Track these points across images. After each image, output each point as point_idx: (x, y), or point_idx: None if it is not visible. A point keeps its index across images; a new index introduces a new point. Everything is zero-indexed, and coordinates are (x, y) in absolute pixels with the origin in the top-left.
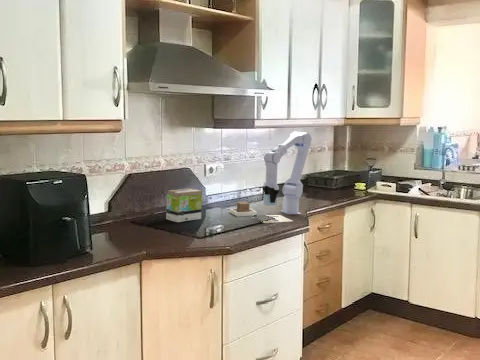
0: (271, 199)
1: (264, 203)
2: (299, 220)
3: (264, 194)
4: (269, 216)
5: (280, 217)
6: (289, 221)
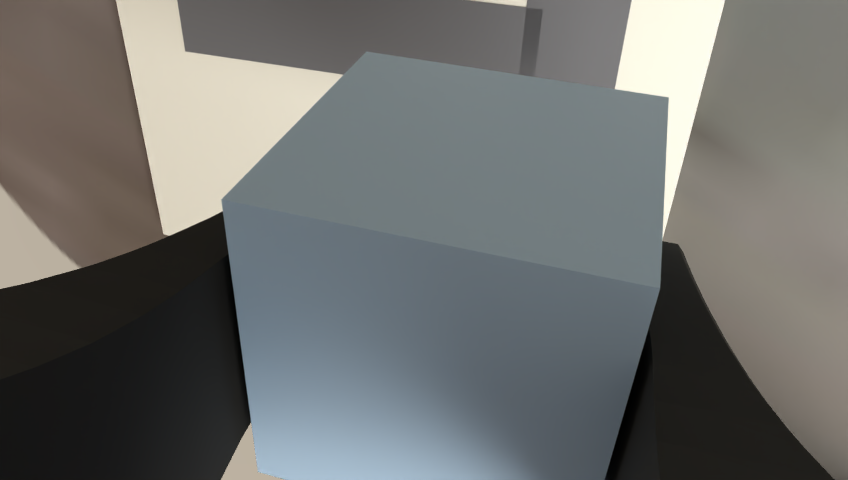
0: None
1: (593, 98)
2: None
3: (627, 296)
4: None
5: None
6: (152, 174)
